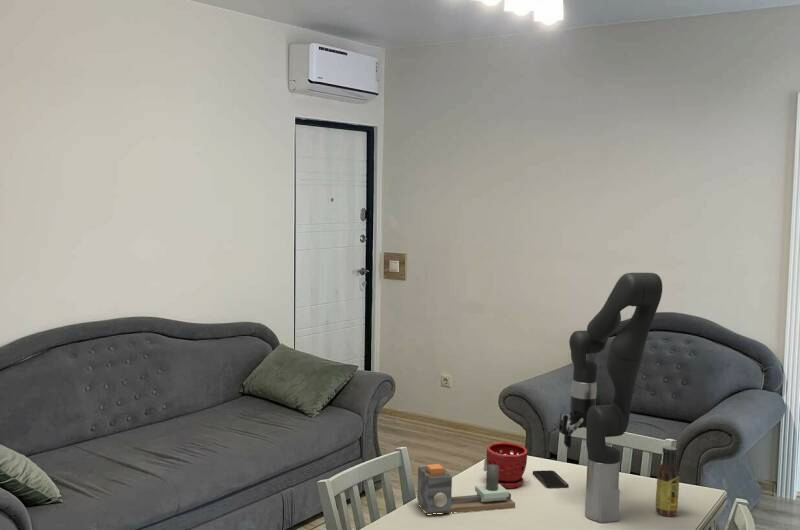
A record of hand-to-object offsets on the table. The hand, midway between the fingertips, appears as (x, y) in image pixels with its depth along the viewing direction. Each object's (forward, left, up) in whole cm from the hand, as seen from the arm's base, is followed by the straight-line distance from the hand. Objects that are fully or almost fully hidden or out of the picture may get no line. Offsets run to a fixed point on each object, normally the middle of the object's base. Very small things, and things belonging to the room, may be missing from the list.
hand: (580, 446), depth 252 cm
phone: (+19, 0, -18) cm, 26 cm away
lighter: (+32, +14, -17) cm, 39 cm away
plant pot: (+19, +16, -17) cm, 30 cm away
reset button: (+3, +46, -7) cm, 47 cm away
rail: (+3, +36, -17) cm, 40 cm away
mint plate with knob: (+3, +28, -15) cm, 32 cm away
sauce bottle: (-15, -21, -17) cm, 31 cm away
